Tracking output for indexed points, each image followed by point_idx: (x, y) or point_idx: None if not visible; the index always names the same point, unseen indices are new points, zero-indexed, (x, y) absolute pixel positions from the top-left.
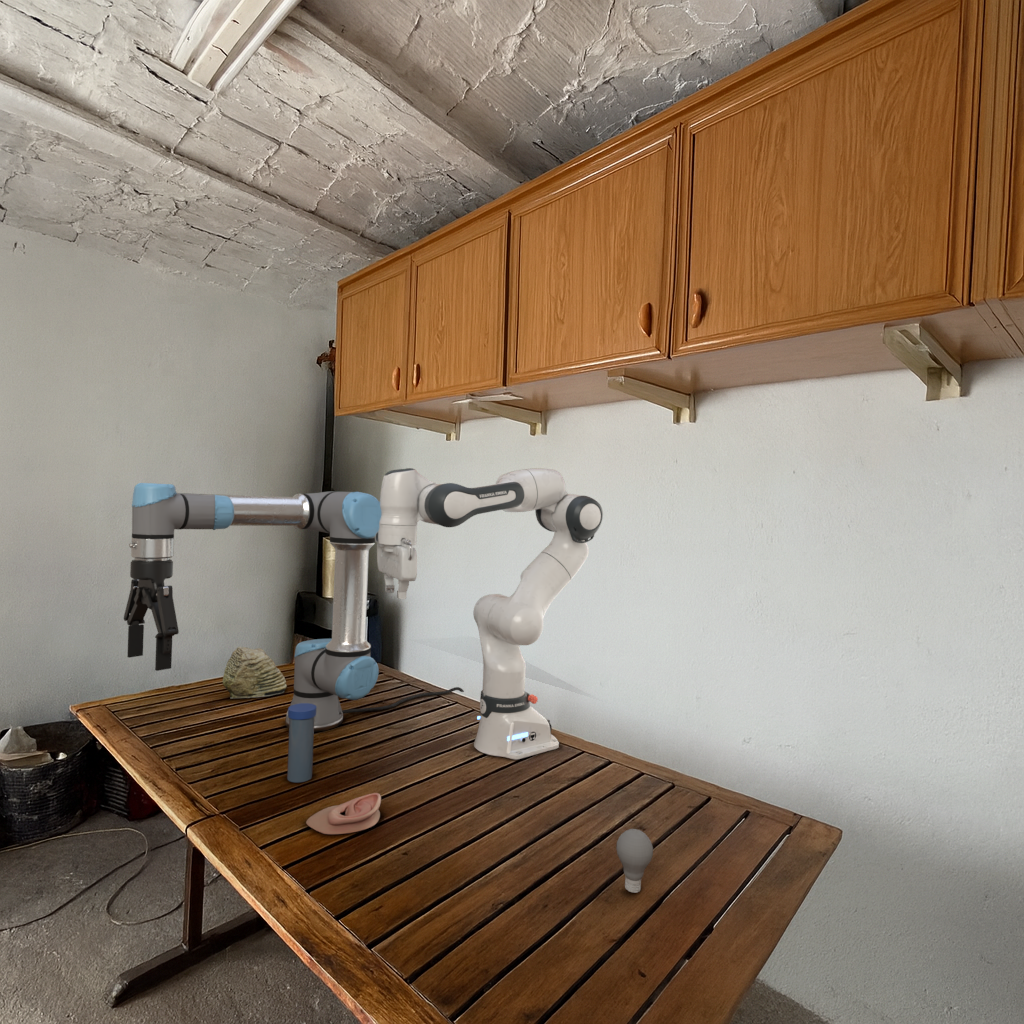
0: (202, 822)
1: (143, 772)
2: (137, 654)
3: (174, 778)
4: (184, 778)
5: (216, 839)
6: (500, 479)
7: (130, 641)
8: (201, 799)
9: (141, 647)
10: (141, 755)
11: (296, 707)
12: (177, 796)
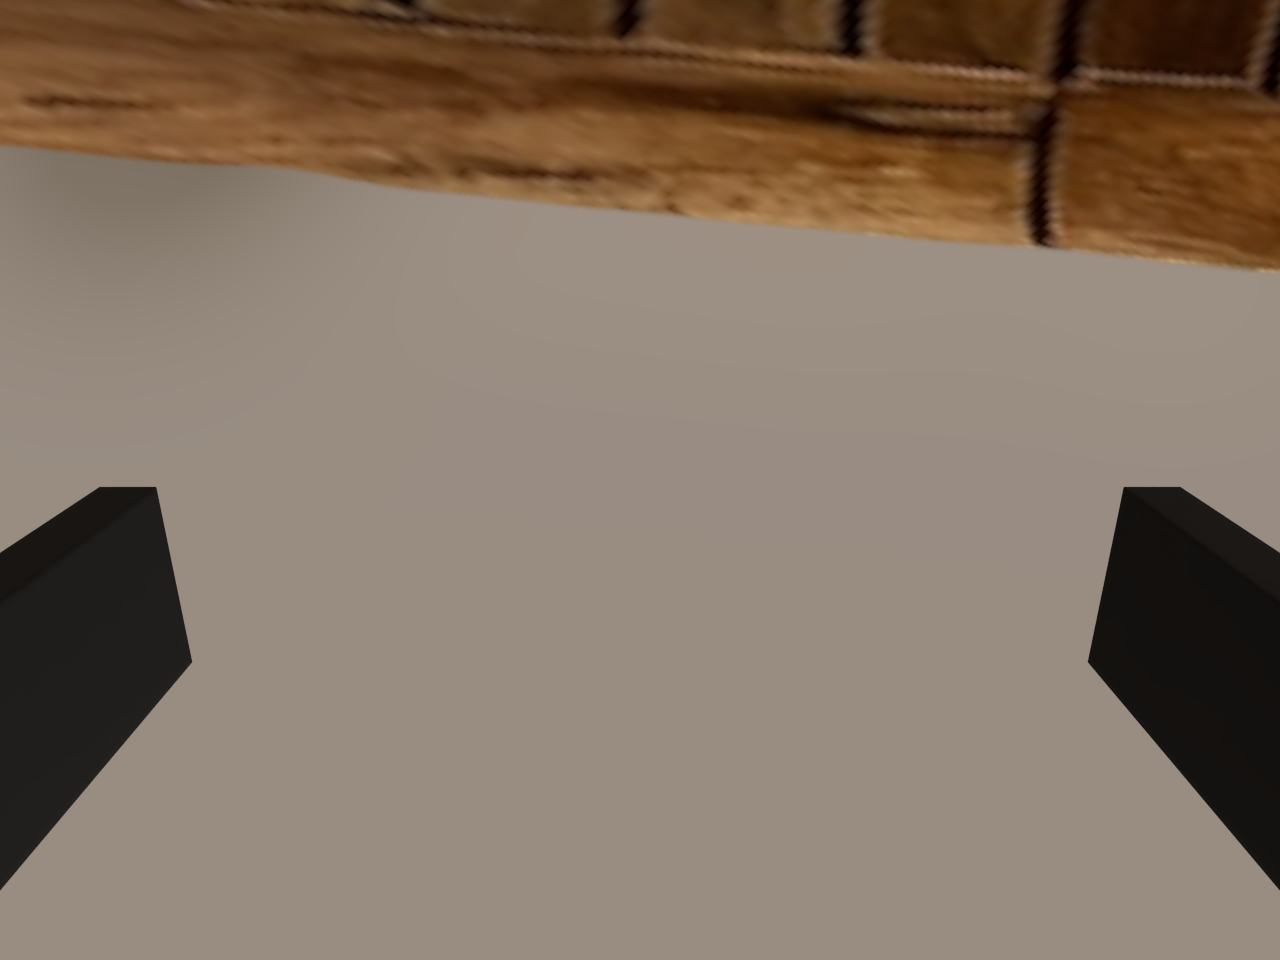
0: (1066, 186)
1: (324, 154)
2: (155, 571)
3: (510, 65)
4: (547, 23)
5: (1247, 214)
6: None
7: (46, 815)
8: (853, 78)
9: (88, 569)
10: (62, 63)
11: None
12: (731, 151)
